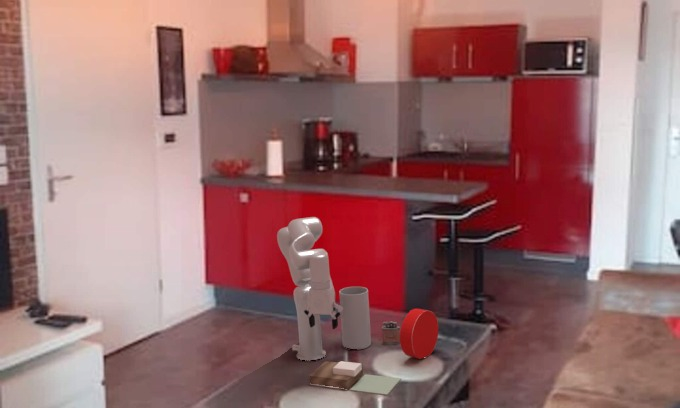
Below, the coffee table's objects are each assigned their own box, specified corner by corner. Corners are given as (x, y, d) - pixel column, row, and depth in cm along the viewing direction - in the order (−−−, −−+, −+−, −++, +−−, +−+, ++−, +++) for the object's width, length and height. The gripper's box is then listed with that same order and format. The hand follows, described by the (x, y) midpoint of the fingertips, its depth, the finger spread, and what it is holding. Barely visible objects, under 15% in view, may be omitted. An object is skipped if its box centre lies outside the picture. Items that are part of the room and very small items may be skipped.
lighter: (400, 341, 325) (399, 320, 323) (400, 344, 321) (399, 322, 320) (382, 342, 326) (381, 320, 324) (382, 345, 322) (381, 323, 321)
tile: (333, 373, 284) (332, 367, 284) (340, 367, 290) (340, 361, 290) (354, 376, 280) (354, 370, 280) (361, 369, 286) (361, 363, 286)
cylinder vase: (371, 339, 329) (368, 286, 325) (370, 350, 317) (367, 294, 313) (344, 340, 331) (340, 287, 327) (341, 350, 318) (337, 295, 314)
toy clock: (427, 347, 316) (425, 302, 313) (439, 350, 312) (437, 304, 309) (401, 363, 301) (398, 316, 298) (413, 365, 297) (410, 318, 294)
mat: (350, 390, 277) (349, 389, 277) (365, 375, 291) (365, 374, 291) (387, 395, 271) (387, 394, 271) (400, 379, 285) (400, 378, 285)
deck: (309, 385, 285) (309, 375, 284) (326, 370, 298) (325, 361, 297) (347, 390, 278) (346, 380, 277) (362, 374, 291) (362, 365, 291)
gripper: (296, 286, 285) (299, 328, 288) (337, 288, 278) (340, 331, 281) (304, 281, 292) (308, 322, 294) (344, 283, 285) (347, 325, 287)
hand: (323, 327), depth 287 cm, fingers open, 9 cm apart
